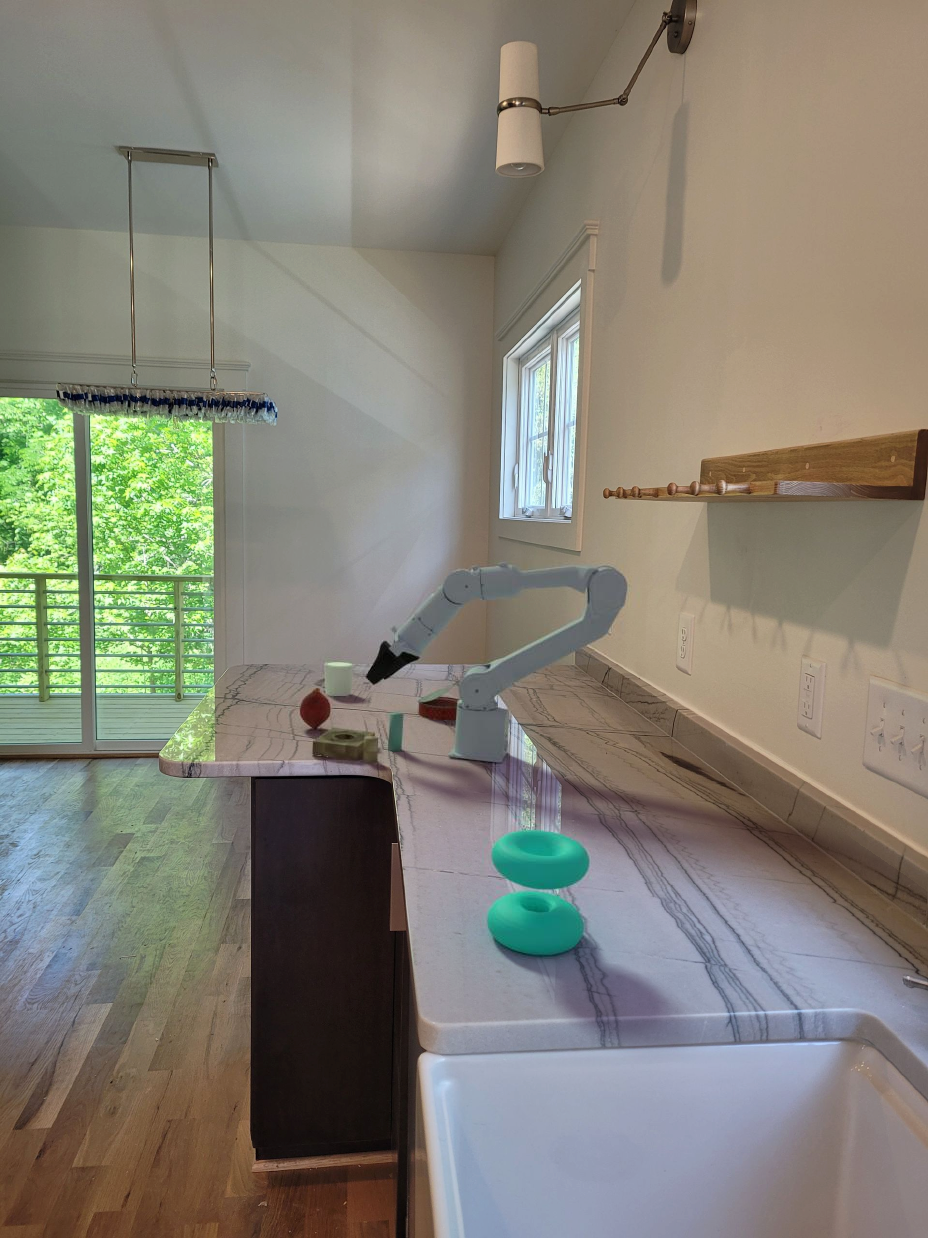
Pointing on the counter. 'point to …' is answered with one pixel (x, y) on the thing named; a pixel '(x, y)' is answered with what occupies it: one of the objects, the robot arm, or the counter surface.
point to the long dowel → (395, 731)
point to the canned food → (438, 705)
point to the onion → (315, 708)
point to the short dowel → (370, 749)
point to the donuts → (537, 892)
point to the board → (341, 744)
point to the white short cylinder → (338, 678)
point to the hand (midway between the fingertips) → (375, 678)
